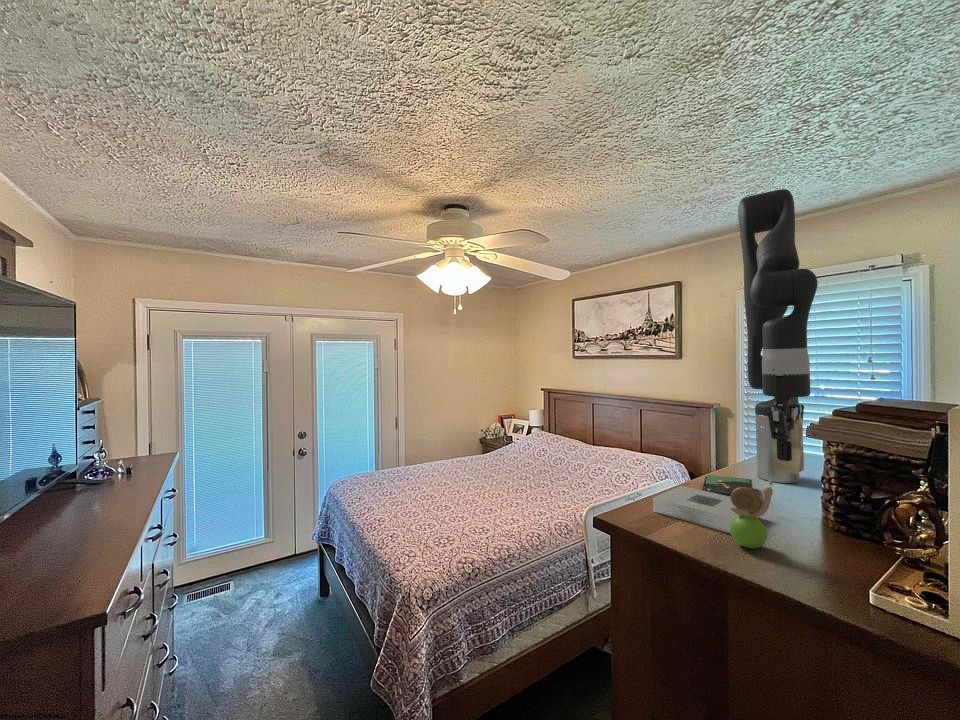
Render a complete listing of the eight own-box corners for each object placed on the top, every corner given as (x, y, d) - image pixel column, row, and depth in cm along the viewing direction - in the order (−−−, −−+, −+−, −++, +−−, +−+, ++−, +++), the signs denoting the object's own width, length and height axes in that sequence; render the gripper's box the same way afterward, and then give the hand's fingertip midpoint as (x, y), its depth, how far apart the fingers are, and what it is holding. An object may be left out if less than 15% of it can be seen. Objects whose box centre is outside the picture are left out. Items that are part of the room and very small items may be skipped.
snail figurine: (776, 558, 66) (774, 485, 66) (730, 549, 69) (728, 480, 69) (773, 545, 71) (771, 477, 71) (730, 537, 74) (728, 472, 74)
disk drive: (755, 509, 89) (751, 489, 101) (754, 496, 89) (751, 478, 101) (702, 502, 94) (705, 483, 107) (701, 490, 94) (704, 473, 107)
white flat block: (681, 498, 95) (680, 485, 95) (759, 517, 83) (758, 502, 83) (653, 511, 88) (653, 497, 88) (735, 535, 75) (734, 519, 75)
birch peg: (779, 465, 82) (778, 416, 82) (804, 469, 79) (802, 418, 79) (773, 469, 80) (771, 419, 80) (798, 473, 77) (796, 421, 77)
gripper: (774, 370, 87) (777, 449, 87) (750, 373, 78) (753, 461, 78) (819, 370, 81) (821, 455, 81) (798, 373, 72) (801, 469, 72)
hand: (788, 457), depth 79 cm, fingers closed on birch peg, 4 cm apart
